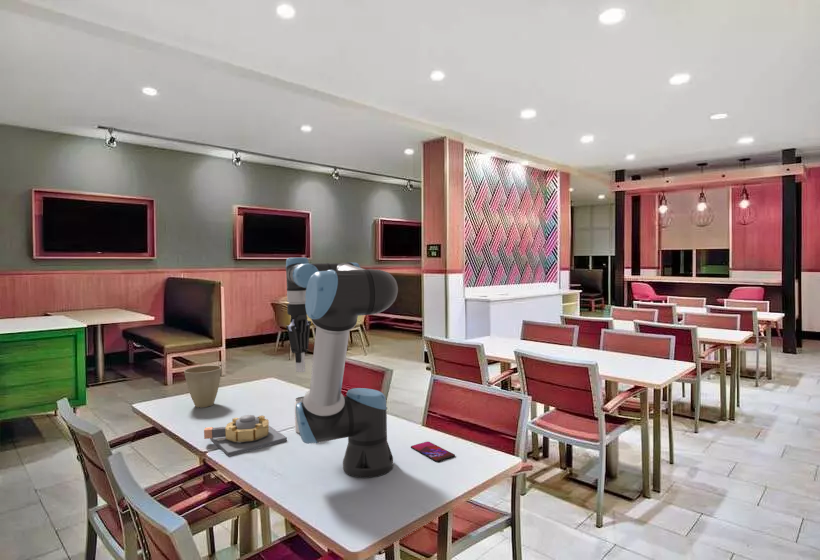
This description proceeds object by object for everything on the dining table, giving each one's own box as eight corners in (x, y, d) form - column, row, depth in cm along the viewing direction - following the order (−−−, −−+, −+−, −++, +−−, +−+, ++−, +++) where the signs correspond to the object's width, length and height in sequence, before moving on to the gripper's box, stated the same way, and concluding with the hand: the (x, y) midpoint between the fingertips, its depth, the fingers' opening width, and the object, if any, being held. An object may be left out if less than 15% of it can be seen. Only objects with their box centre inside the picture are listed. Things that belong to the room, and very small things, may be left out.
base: (286, 440, 170) (286, 418, 170) (228, 456, 158) (227, 431, 157) (264, 425, 186) (264, 404, 185) (209, 438, 173) (209, 416, 173)
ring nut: (269, 425, 180) (269, 413, 180) (267, 439, 166) (266, 426, 166) (208, 431, 175) (208, 418, 175) (201, 445, 162) (200, 432, 161)
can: (309, 434, 176) (308, 401, 175) (292, 433, 177) (291, 400, 176) (316, 428, 182) (315, 396, 181) (299, 427, 183) (298, 395, 183)
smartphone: (428, 440, 167) (456, 454, 154) (428, 443, 167) (456, 457, 154) (409, 446, 162) (436, 461, 150) (409, 448, 162) (436, 464, 150)
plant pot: (229, 400, 219) (228, 365, 218) (208, 411, 204) (207, 373, 204) (200, 399, 222) (198, 364, 221) (177, 409, 208) (176, 372, 207)
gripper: (298, 300, 174) (300, 366, 175) (278, 304, 162) (280, 375, 163) (317, 301, 172) (319, 367, 173) (298, 304, 159) (300, 376, 161)
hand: (300, 371), depth 168 cm, fingers closed
